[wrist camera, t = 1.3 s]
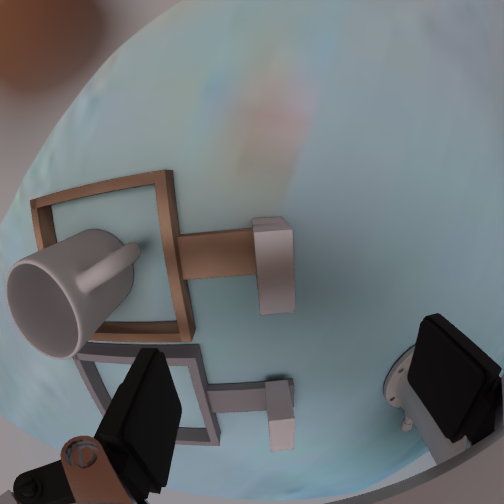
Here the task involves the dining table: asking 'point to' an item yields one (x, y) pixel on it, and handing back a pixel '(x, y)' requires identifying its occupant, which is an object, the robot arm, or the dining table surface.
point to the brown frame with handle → (190, 257)
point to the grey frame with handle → (200, 392)
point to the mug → (69, 290)
